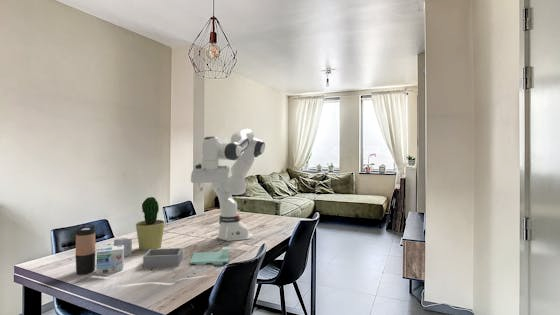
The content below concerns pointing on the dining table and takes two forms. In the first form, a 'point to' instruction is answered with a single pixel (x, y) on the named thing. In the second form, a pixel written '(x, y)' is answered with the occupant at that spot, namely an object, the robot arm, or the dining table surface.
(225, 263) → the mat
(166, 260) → the tub
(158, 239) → the potted cactus
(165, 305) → the dining table surface
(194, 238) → the dining table surface
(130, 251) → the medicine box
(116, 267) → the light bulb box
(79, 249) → the travel mug
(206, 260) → the lid
